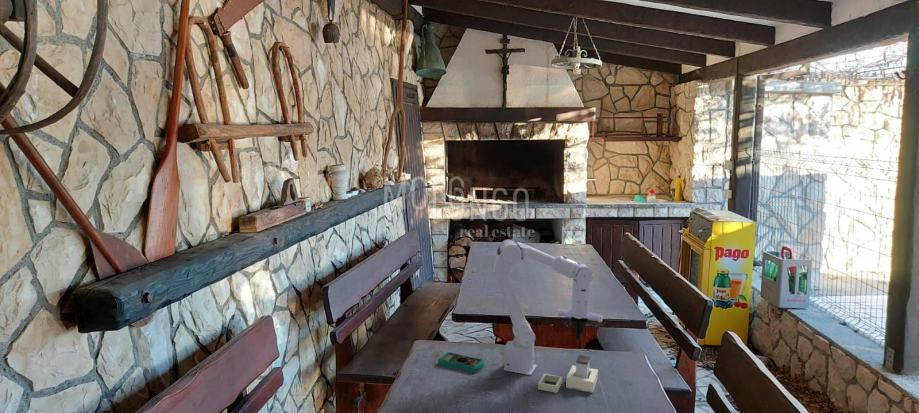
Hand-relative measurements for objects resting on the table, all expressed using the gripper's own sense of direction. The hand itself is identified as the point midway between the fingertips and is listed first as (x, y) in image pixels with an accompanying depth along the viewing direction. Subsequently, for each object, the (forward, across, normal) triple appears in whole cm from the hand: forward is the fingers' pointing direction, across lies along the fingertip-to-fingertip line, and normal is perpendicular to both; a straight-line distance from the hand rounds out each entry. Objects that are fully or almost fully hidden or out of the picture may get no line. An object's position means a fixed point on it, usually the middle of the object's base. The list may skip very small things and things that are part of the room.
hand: (578, 339), depth 190 cm
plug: (+10, +4, -11) cm, 15 cm away
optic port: (+10, +4, -11) cm, 16 cm away
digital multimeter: (+11, -37, -14) cm, 41 cm away
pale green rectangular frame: (+10, -6, -16) cm, 20 cm away
